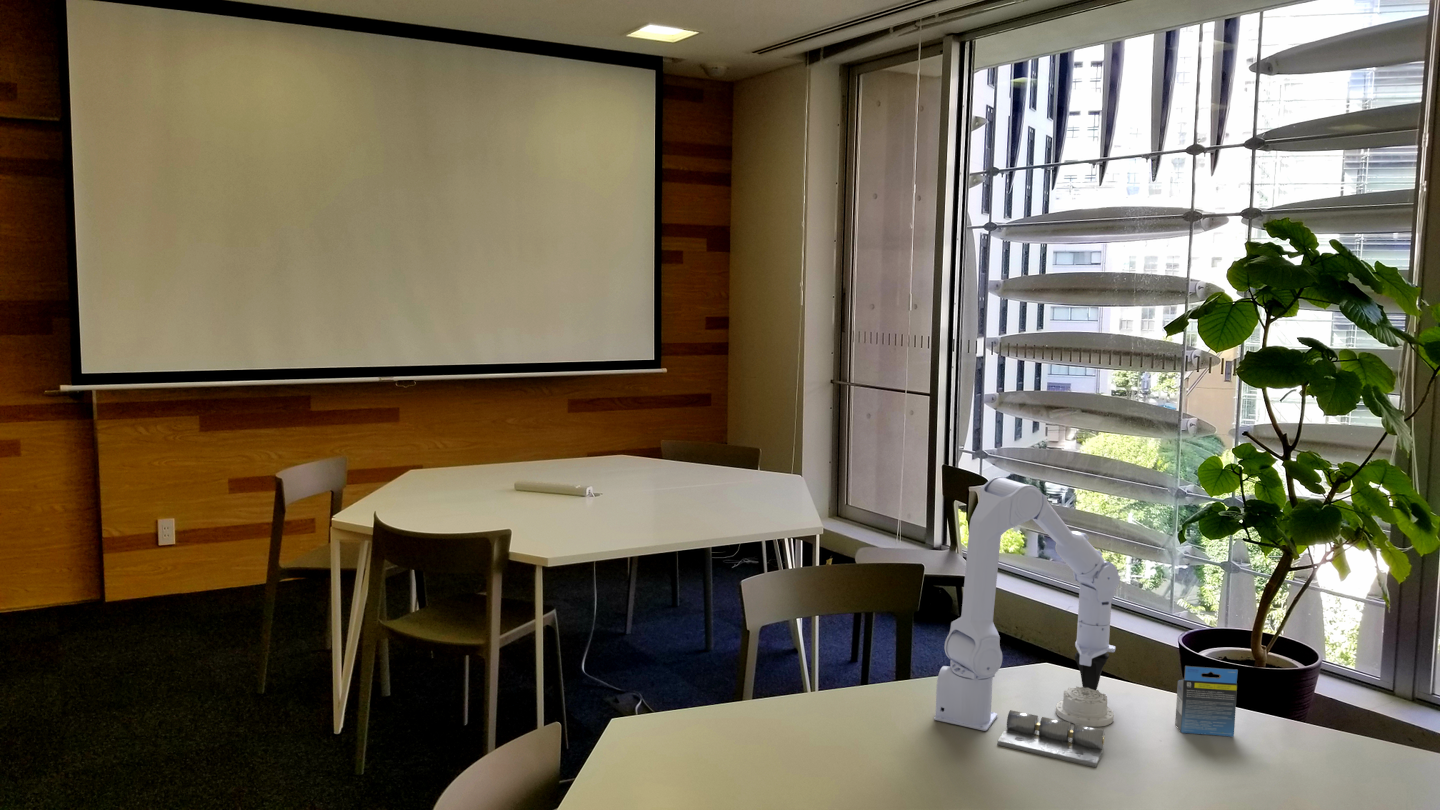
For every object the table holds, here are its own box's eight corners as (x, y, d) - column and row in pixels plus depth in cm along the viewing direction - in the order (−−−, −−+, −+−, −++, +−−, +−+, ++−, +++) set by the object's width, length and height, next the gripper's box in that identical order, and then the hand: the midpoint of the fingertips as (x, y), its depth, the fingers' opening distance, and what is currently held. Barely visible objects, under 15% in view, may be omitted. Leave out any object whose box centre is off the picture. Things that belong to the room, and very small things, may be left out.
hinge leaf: (997, 745, 175) (998, 724, 174) (1010, 726, 182) (1011, 706, 182) (1096, 767, 167) (1097, 746, 167) (1105, 747, 175) (1106, 726, 174)
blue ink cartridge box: (1227, 728, 183) (1232, 661, 182) (1234, 738, 179) (1239, 669, 178) (1174, 724, 184) (1178, 658, 183) (1180, 733, 181) (1184, 665, 179)
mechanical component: (1059, 725, 184) (1118, 730, 182) (1060, 701, 183) (1119, 706, 181) (1052, 703, 193) (1108, 708, 192) (1053, 681, 193) (1109, 685, 191)
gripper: (1110, 635, 185) (1105, 708, 186) (1122, 614, 197) (1118, 682, 199) (1069, 629, 188) (1065, 700, 190) (1084, 608, 201) (1080, 675, 202)
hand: (1089, 690), depth 194 cm, fingers closed
